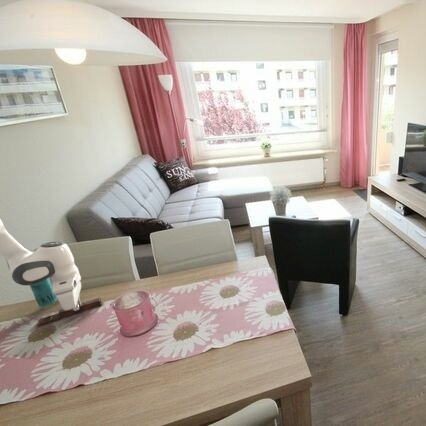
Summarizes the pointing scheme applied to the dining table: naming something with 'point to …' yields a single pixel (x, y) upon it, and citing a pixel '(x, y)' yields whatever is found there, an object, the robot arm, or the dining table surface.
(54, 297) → the beverage bottle
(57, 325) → the dining table surface
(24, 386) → the dining table surface
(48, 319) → the brown long bar
